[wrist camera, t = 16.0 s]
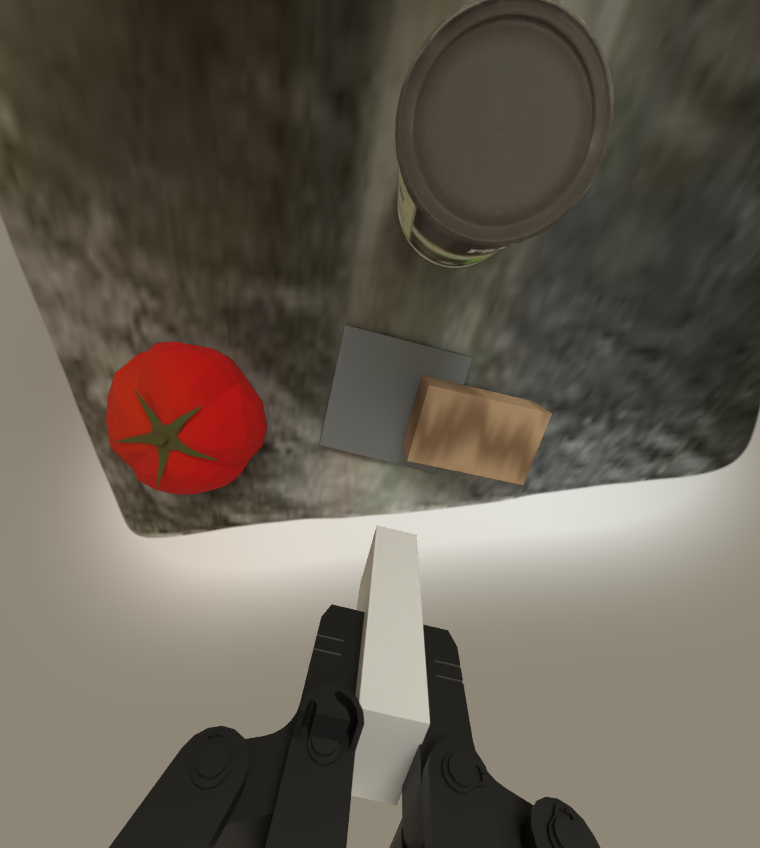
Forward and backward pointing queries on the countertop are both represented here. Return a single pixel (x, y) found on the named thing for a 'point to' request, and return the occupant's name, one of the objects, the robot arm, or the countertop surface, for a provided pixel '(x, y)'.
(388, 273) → the countertop surface
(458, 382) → the rubber mat
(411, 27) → the countertop surface
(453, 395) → the tan rectangular block
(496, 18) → the coffee can
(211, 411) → the tomato
